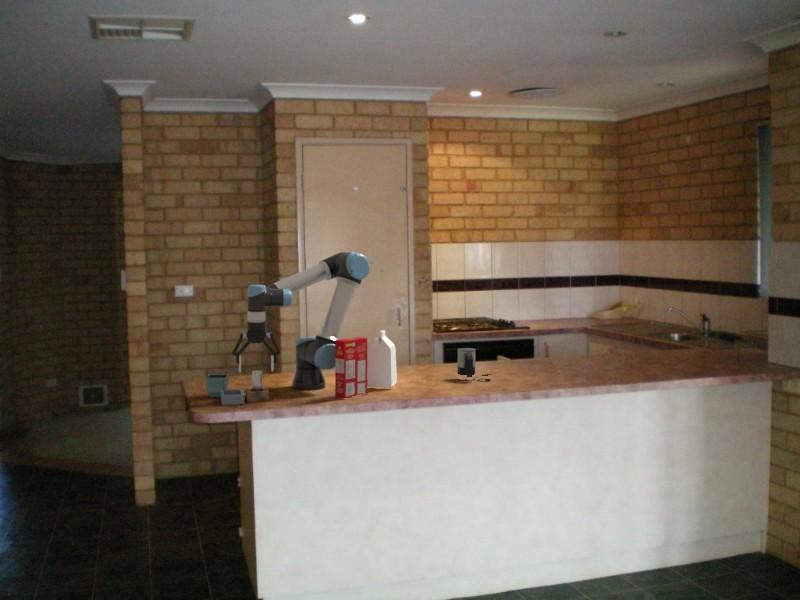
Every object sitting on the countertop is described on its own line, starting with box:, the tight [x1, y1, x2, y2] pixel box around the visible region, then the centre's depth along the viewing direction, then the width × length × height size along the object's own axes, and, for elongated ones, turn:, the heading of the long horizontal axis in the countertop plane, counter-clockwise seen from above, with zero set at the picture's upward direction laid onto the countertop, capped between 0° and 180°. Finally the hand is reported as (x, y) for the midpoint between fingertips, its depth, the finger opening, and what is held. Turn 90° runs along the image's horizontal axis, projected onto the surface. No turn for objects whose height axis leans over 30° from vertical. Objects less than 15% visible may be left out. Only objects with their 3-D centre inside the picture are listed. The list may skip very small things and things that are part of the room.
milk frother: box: [456, 347, 492, 377], centre depth 411 cm, size 14×16×15 cm
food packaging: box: [334, 336, 368, 399], centre depth 368 cm, size 15×5×25 cm, turn 141°
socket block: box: [245, 387, 270, 403], centre depth 361 cm, size 9×9×4 cm
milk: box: [367, 329, 398, 387], centre depth 390 cm, size 12×12×26 cm
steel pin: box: [251, 370, 263, 391], centre depth 360 cm, size 4×4×12 cm
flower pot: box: [204, 374, 229, 399], centre depth 366 cm, size 9×9×9 cm
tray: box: [220, 388, 245, 406], centre depth 355 cm, size 9×13×4 cm
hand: (256, 371), depth 360 cm, fingers open, 13 cm apart
